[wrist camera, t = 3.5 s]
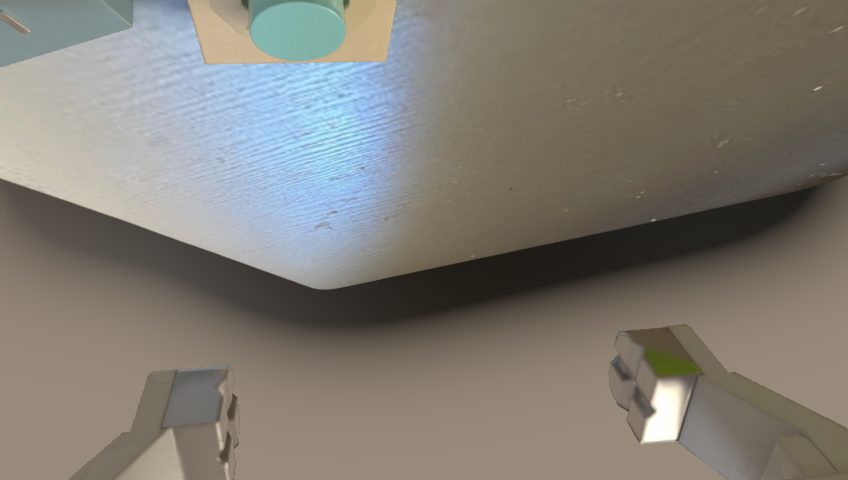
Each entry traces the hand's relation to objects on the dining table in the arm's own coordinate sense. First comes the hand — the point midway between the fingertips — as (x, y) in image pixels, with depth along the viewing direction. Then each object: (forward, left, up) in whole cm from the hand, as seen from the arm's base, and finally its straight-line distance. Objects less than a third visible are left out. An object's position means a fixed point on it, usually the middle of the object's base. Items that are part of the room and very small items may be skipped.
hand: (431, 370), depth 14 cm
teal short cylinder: (+6, -5, -16) cm, 18 cm away
